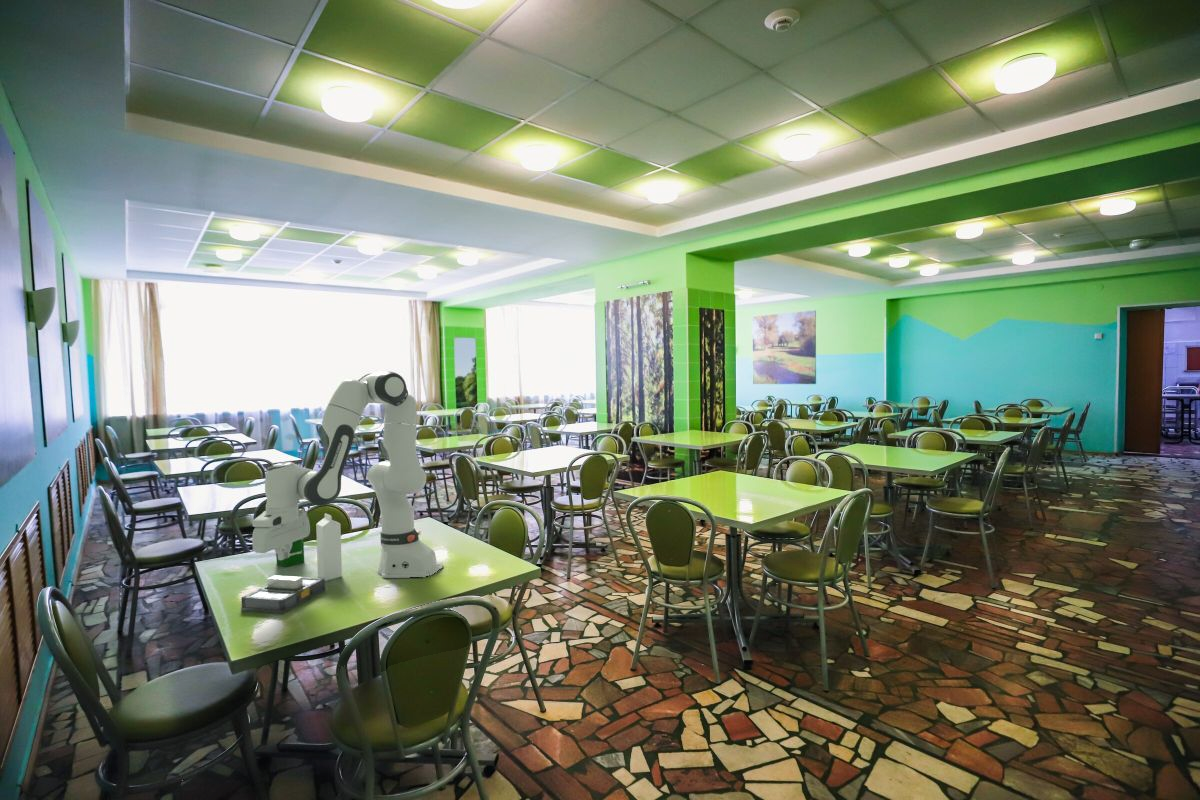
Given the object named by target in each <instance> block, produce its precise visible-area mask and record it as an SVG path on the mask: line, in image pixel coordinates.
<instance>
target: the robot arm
mask: <svg viewBox="0 0 1200 800" xmlns="http://www.w3.org/2000/svg"><path fill="white" fill-rule="evenodd" d="M369 403H370V404H382V406H383V409H384V413H385V415H384V425H383V437H382V439H383V440H382V444H383V447H384V449H385V450H386V451H387V455H388V459H389V460H384V461H378V462H376V463H374V464H373V465H371V466H370V468H369V469H368V473H367V480H368V483H369V484H370V485H371V487H372V489H373V490H374V492H375V494H376V498H377V501H378V505H379V509H380V520H381V531H380V545H381V549H380V551H381V552H380V553H381V554H380V561H379V566H378V570H377V573H378V574H379V575H381V578H383V579H402V578H403V579H405V578H406V579H411V578H410V577H423V578H427V577H426V576H428V577H430V576H433V575H434V573H435V572H436V573H438V572H439V571H440V570H439V569H440V568H441V567H442V566H443V567H444V564H443V562H439V561H437V556H436V553H435V551H434V549H432V548H431V547H430V546H428V545H427V544H426V543H425V542H424V541H422V540H420V535H421V533H422V532H421V531H418V532H417V530H416V529H415V515H414V514H415V513H414V507H413V505H412V504H411V502H410V501H409V499H408V496H407V495H413V494H417V493H420V492H421V491H422V490H423V489H424V487H425V486H426V483H427V474H426V471H425V470H424V469H423V467H422V466H421V463H420V461H419V458H418V452H417V446H416V445H417V442H416V439H417V423H418V413H417V412H418V411H417V403H416V399H415V397H414V396H413V395H411V394H409V391H408V389H407V384H406V381H405V379H404V378H403V376H401V375H400V374H399V373H397V372H394V371H376V372H373V373H368V374H365V375H363V376H362V377H361V378H359V379H354V378H353V379H351V378H350V379H349V378H348V379H344V380H343V381H341V383H340V384H339V386H337V388H336V390H335V391H334V392H333V394H332V396H331V398H330V400H329V402H328V403H327V406H326V408H325V411H324V412H323V416H322V422H321V425H322V428H323V429H324V430H323V431H325V433H326V434H327V436H328V442H329V443H328V447H327V450H326V453H325V456H324V459H323V461H322V464H321V466H320V469H319V470H316V469H311V468H307V467H303V466H301V465H298V464H296V463H294V462H293V461H284V462H277V463H275V464H273V465H271V466H269V467H268V468H267V469H266V473H265V479H264V481H265V482H264V494H265V497H266V503H265V510H264V511H263V512H262V513H261V514H259V515H258V516H257V517H255V518H254V519H253V520H252V522H251V523H252V527H254V529H253V532H252V536H251V537H252V550H253V551H254V553H256V554H266V553H268V552H271V551H273V550H274V551H275V554H276V553H277V554H278V560H284V559H286V558H289V557H290V550H291V548H292V542H294V541H297V540H300V539H302V538H307V537H309V536H310V533H311V525H310V519H309V516H308V512H307V511H306V510H305V509H304V508H299V502H300V501H301V500H305V501H308V502H310V503H311V504H313V505H316V506H319V507H321V506H327V505H331V504H332V503H333V502H334V501H335V500H337V498H339V495H340V493H341V489H342V476H343V472H344V469H345V466H346V464H347V460H348V457H349V454H350V453H351V452H350V451H351V448H352V445H353V441H354V437H355V434H356V431H357V428H358V425H359V423H360V420H361V418H362V416H363V413H364V411H365V409H366V407H367V406H368V405H369ZM284 546H285V547H284ZM282 549H284V551H283V550H282ZM443 567H442V568H443ZM438 570H439V571H438ZM437 571H438V572H437ZM436 573H435V574H436ZM432 574H433V575H432ZM429 575H430V576H429Z"/></svg>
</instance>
